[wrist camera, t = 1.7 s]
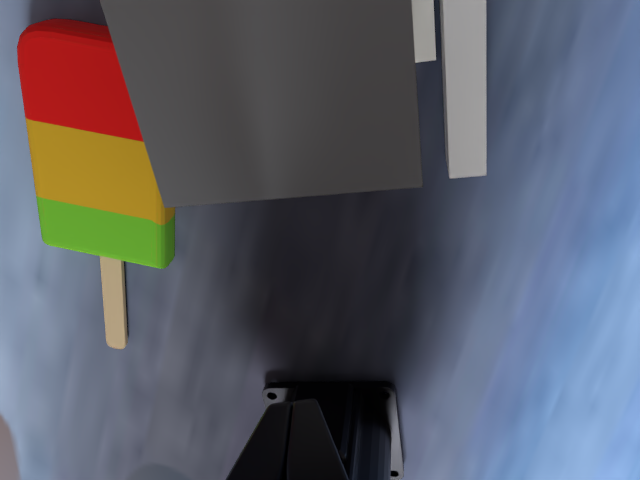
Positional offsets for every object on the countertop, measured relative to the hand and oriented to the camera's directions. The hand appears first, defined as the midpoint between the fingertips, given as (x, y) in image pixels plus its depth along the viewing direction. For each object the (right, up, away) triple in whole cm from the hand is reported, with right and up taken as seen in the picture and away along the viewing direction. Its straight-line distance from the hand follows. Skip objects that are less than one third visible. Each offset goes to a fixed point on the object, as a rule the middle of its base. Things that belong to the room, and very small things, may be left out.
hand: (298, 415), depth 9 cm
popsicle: (-8, +5, +14) cm, 17 cm away
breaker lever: (+1, +11, +8) cm, 13 cm away
